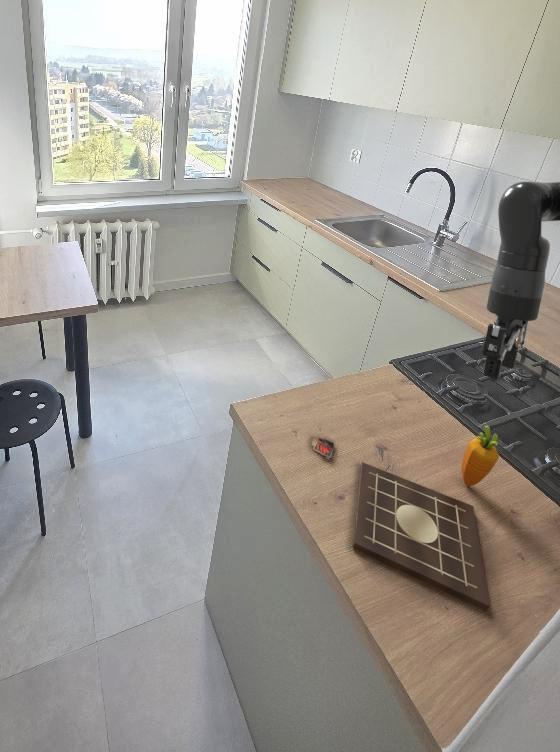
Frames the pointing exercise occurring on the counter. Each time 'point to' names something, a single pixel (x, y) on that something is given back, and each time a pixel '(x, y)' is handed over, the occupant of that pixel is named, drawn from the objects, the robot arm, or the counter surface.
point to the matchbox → (323, 446)
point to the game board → (420, 534)
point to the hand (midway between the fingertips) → (499, 371)
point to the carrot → (479, 458)
